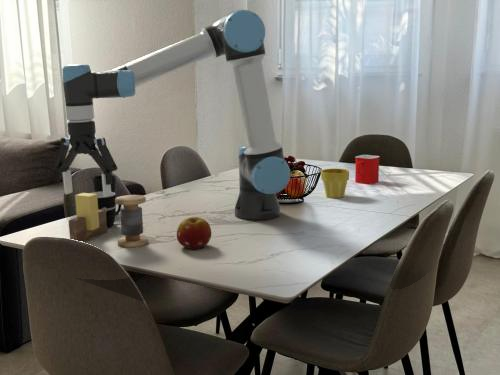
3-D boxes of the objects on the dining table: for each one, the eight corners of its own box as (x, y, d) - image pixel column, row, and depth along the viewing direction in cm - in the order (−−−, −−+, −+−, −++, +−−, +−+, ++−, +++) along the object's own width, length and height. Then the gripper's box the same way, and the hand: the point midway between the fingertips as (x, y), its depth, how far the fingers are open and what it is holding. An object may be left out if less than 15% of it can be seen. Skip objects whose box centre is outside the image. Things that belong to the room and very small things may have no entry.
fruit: (182, 253, 161) (181, 224, 159) (172, 244, 169) (171, 216, 167) (216, 248, 164) (215, 220, 163) (205, 240, 172) (204, 213, 171)
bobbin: (153, 240, 173) (151, 196, 170) (137, 248, 165) (134, 202, 163) (128, 237, 176) (126, 194, 173) (111, 245, 168) (108, 200, 166)
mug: (100, 231, 183) (98, 198, 181) (82, 226, 189) (79, 195, 187) (130, 223, 192) (129, 191, 190) (112, 218, 198) (110, 188, 196)
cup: (112, 214, 204) (109, 179, 201) (90, 213, 205) (88, 178, 203) (121, 208, 211) (119, 175, 209) (100, 208, 213) (98, 174, 210)
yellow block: (99, 227, 176) (97, 193, 174) (91, 230, 173) (89, 196, 171) (85, 225, 178) (82, 192, 176) (77, 228, 175) (75, 195, 173)
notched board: (107, 232, 182) (105, 209, 181) (77, 245, 170) (75, 220, 168) (100, 231, 183) (99, 208, 182) (70, 244, 170) (68, 220, 169)
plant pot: (317, 198, 223) (317, 172, 221) (324, 192, 232) (325, 167, 230) (345, 200, 219) (345, 173, 217) (351, 194, 228) (352, 169, 226)
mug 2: (362, 179, 257) (363, 154, 255) (380, 181, 252) (381, 156, 250) (348, 183, 248) (348, 158, 246) (366, 186, 243) (367, 160, 241)
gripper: (125, 119, 168) (131, 193, 172) (54, 119, 178) (61, 189, 182) (109, 122, 161) (116, 199, 166) (36, 121, 171) (44, 195, 175)
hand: (87, 194), depth 174 cm, fingers open, 13 cm apart
